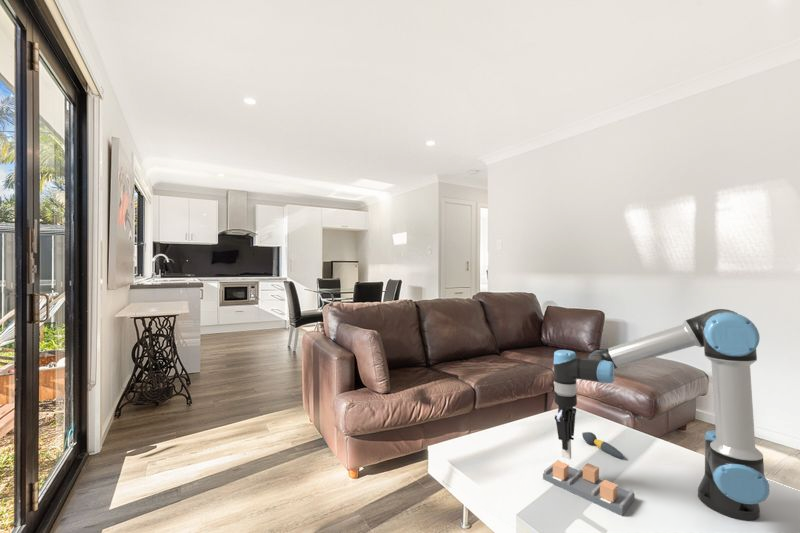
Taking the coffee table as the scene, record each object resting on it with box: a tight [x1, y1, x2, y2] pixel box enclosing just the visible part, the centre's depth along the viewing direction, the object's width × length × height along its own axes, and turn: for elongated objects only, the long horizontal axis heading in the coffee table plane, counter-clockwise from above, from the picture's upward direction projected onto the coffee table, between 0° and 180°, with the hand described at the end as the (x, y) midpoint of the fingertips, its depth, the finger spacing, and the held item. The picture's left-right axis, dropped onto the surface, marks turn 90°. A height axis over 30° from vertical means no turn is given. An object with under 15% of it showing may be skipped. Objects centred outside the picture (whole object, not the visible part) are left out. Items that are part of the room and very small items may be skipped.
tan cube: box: [552, 460, 570, 480], centre depth 133 cm, size 4×4×4 cm
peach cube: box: [582, 462, 600, 483], centre depth 131 cm, size 4×4×4 cm
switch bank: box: [542, 459, 636, 517], centre depth 128 cm, size 26×12×3 cm, turn 41°
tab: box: [600, 479, 619, 502], centre depth 121 cm, size 4×4×4 cm
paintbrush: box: [581, 431, 625, 459], centre depth 156 cm, size 20×5×5 cm, turn 30°
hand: (566, 457), depth 135 cm, fingers closed
